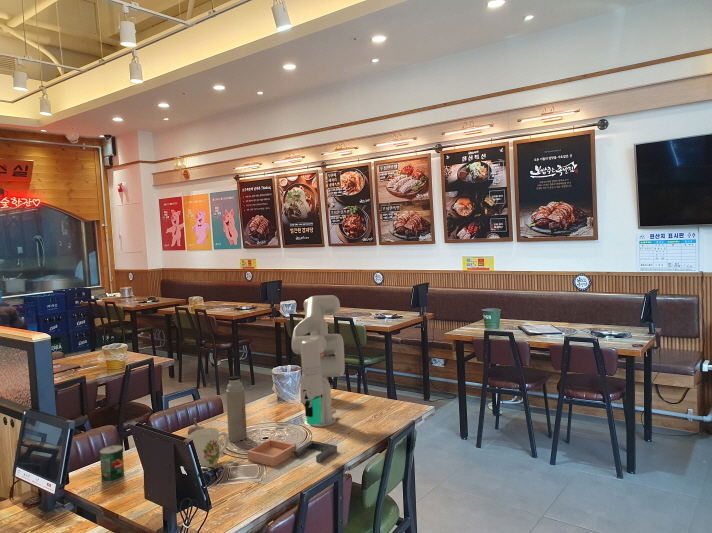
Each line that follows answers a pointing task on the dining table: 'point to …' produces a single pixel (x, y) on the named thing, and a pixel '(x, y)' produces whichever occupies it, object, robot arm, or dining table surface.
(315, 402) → the candle
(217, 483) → the dining table surface
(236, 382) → the thermos bottle
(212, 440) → the pitcher
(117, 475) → the canned tomato
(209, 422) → the dining table surface
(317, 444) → the dock
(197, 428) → the garlic bulb
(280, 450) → the tray
